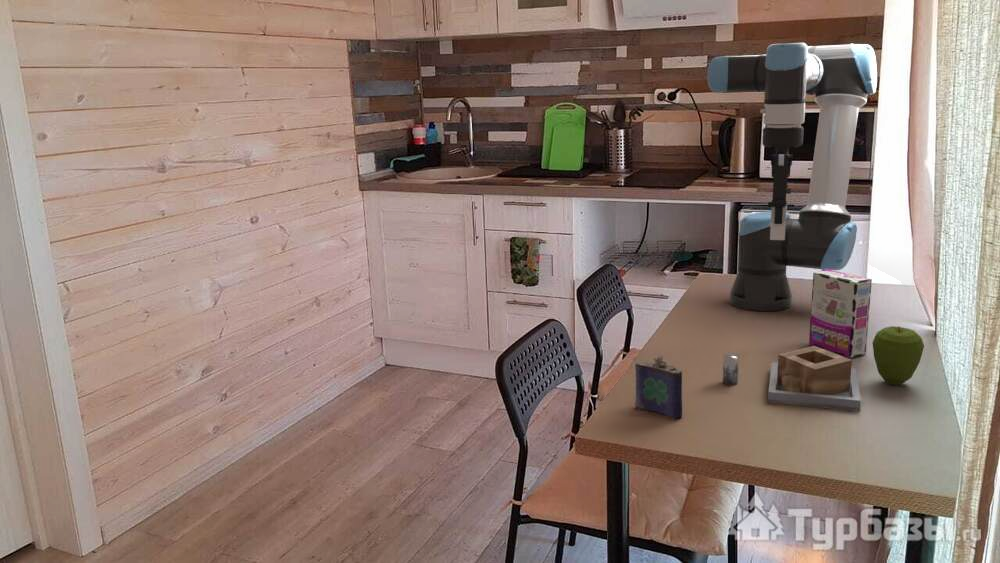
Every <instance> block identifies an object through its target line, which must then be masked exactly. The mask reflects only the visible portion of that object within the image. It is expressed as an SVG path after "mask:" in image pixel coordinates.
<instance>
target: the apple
mask: <svg viewBox="0 0 1000 563" xmlns="http://www.w3.org/2000/svg"><path fill="white" fill-rule="evenodd" d="M924 348H925V344H924V342H923V339H922V337H921V335H919V334H918V333H917V332H916V331H915V330H914V329H911V328H907V327H902V326H900V325H898V326H887V327H884V328H882V329H880V330H879V331H877V332H876V333H875V336H874V338H873V341H872V351H873V352H872V353H873V358H874V361H875V366H876V370H877V373H878V374H879V376H880V377H881V378H882V380H883V381H884V382H885V383H886V384H889V385H898V386H901V385H903V384H904V383H905V382H906V383H907V381H909V380H910V379H912V377H913V375H914V374H915V372H916V370H917V369H918V366H919V364H920V362H921V358H922V356H923V352H924Z"/></svg>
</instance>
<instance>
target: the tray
mask: <svg viewBox="0 0 1000 563" xmlns="http://www.w3.org/2000/svg"><path fill="white" fill-rule="evenodd" d="M777 375H778V362H774V361H773V362H771V363H770V373H769V385H768V394H767V396H768V397H767V402H768V403H772V404H782V405H784V404H785V405H793V406H801V407H811V408H812V407H814V408H822V409H823V408H824V409H833V410H842V411H843V410H844V411H855V412H861V403H862V398H861V394H860V393H861V392H860V387H859V381H858V375H857V369H856V368H851V379H850V390H849V391H846V392H842V393H838V394H835V395H822V394H811V393H801V392H790V391H782V386H781V385H779V384H777Z"/></svg>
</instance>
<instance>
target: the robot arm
mask: <svg viewBox="0 0 1000 563" xmlns="http://www.w3.org/2000/svg"><path fill="white" fill-rule="evenodd" d="M765 53H766V54H756V55H755V54H754V55H753V54H752V55H751V54H749V55H725V56H715V57H713V58H712V59H711V60H710V61H709V64H708V68H707V85H708V87H709V90H710V91H711V92H712V93H716V94H717V93H721V94H733V93H734V94H735V93H741V94H742V93H764V97H763V98H764V99H763V100H764V102H763V103H764V104H763V106H764V108H761V109H760V113H761V114H762V115H763V114H764V115H763V124H764V125H765V126H764V128H763V129H762V139H761V140H762V145H763V147H767V148H775V154H771V157H770V166H771V177H772V178H773V181H772V182H773V184H772V200H771V201H770V202H768V203H767V207H768V208H771V210H770V211H762V212H756V213H751V214H748V215H745V216H744V217H742V218H741V220H740V223H739V232H738V256H737V257H738V258H737V259H738V260H737V262H738V263H737V274H736V277H735V279H734V282H733V284H732V286H731V290H730V293H729V303H730V304H731V306H734V307H736V308H740V309H743V310H749V311H756V312H757V311H759V312H775V311H780V310H785V309H788V308H790V307H792V304H793V294H792V291H791V288H790V283H789V280H788V277H787V267H794V268H795V267H796V268H805V269H814V270H820V271H822V270H828V269H829V270H833V271H840V270H843V269H844V268H845V267H846V266H847V264H848V263H849V261H850V259H851V257H852V253H853V252H854V248H855V244H856V240H857V232H858V227H857V224H856V223H855V222H853V221H851V219H852V215H851V213H850V212H849V211H848V210H847V209H846V204H847V197H848V190H849V184H850V183H849V182H850V177H851V176H850V174H851V168H852V162H853V154H854V153H853V152H854V146H855V139H856V134H857V133H856V131H857V130H856V129H857V124H858V123H857V122H858V118H859V110H860V108H862V107H863V106H864V105H866V104H867V101H868V96H871V95H874V94H875V93H876V91H877V86H878V85H877V84H878V70H877V69H878V68H877V58H876V54H875V51H874V48H873V47H872V46H871V45H870V44H866V43H864V44H863V43H862V44H861V43H858V44H857V43H855V44H854V43H848V44H833V45H832V44H831V45H814V46H813V45H810V46H808V44H806V43H805V42H793V43H792V42H791V43H790V42H789V43H774V44H770V45H768V47H767V49H766V52H765ZM806 96H814V102H815V103H816V104H817V106H818V107H819V114H818V115H819V116H818V123H817V129H816V137H815V145H814V152H813V160H812V167H811V173H810V180H809V181H810V183H809V188H808V196H807V204H806V205H805V206H804V207H803V208H802V209H800V210H799V212H798V213H799V214H798V215H799V216H798V218H791V215H790V213H789V212H788V210H787V209H788V208H787V207H788V195H789V194H790V195H791V192H792V189H791V188H789V185H788V178H789V177H791V168H792V167H791V166H792V165H793V154H790V151H791V150H790V148H797V147H801V146H802V145H803V143H804V130H805V129H804V126H802V124H804V123H805V117H806Z"/></svg>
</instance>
